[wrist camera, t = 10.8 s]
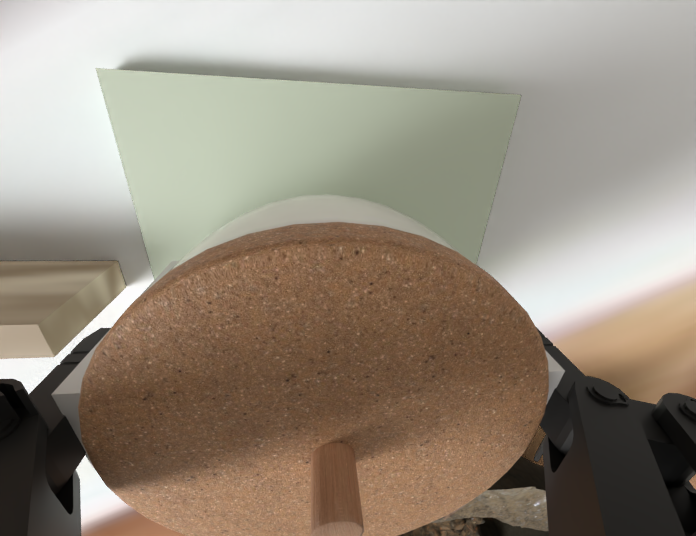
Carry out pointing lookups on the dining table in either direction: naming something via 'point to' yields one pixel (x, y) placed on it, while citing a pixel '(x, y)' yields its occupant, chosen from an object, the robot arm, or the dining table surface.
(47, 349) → the cubby
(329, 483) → the lidded jar
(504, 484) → the stone bowl
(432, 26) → the dining table surface
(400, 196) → the pad
